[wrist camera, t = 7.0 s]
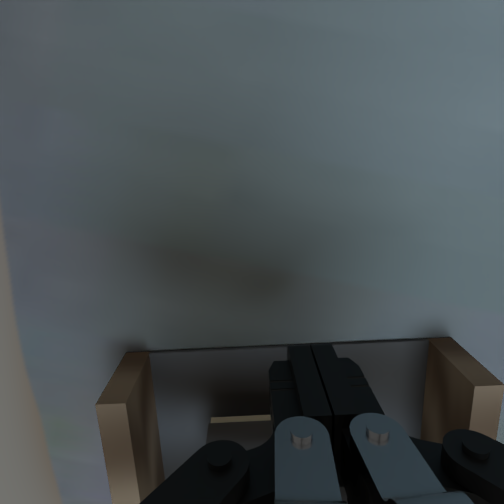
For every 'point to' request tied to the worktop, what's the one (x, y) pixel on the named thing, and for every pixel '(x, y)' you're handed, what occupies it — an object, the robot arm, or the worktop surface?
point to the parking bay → (257, 401)
